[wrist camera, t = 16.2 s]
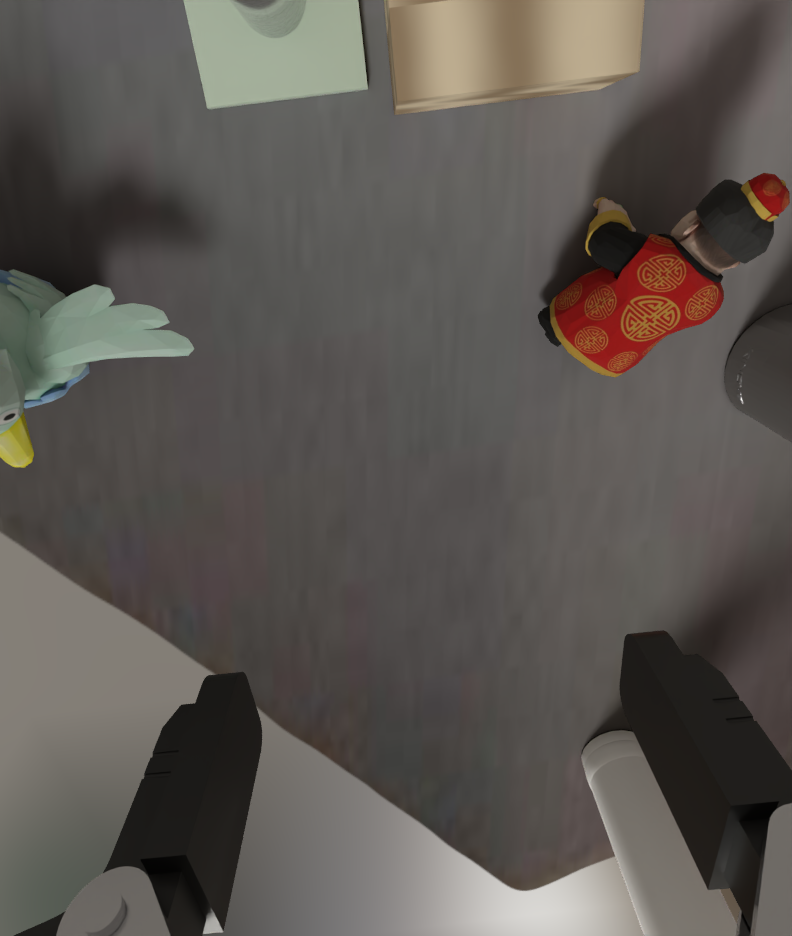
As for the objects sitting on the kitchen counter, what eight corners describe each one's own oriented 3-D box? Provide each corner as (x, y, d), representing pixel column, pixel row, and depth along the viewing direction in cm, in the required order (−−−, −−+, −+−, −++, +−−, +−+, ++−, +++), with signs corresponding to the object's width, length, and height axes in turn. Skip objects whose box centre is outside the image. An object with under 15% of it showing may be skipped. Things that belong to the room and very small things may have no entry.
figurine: (616, 324, 46) (806, 171, 34) (626, 410, 40) (856, 262, 29) (525, 264, 43) (702, 74, 31) (523, 349, 37) (736, 155, 26)
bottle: (588, 727, 62) (750, 1138, 35) (657, 729, 62) (868, 1136, 35) (573, 773, 65) (709, 1179, 39) (638, 774, 66) (817, 1176, 39)
